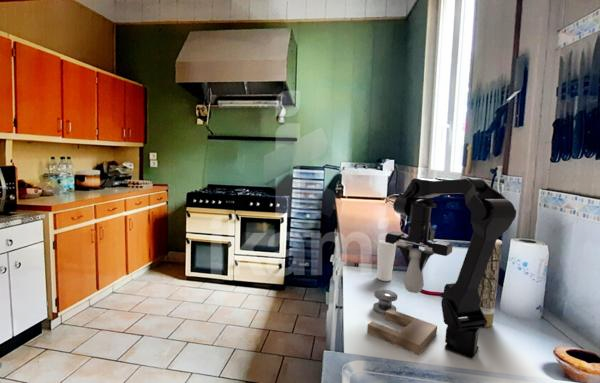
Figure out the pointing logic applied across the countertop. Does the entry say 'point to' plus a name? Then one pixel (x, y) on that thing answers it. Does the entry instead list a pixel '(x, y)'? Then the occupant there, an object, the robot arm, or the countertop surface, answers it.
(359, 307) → the countertop surface
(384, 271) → the drinking glass
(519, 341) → the countertop surface
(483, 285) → the wooden log
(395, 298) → the spool
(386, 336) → the notched board
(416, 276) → the salt shaker
